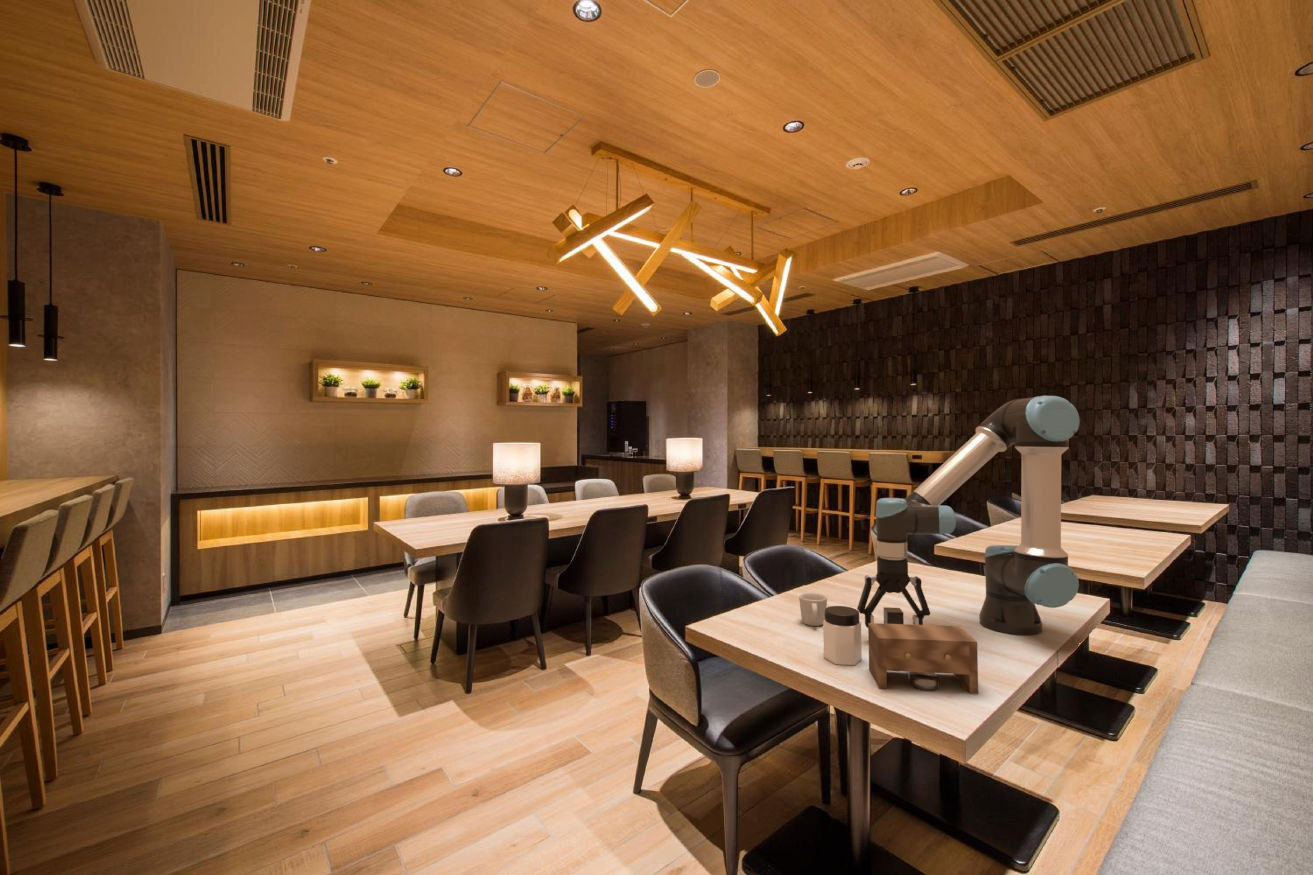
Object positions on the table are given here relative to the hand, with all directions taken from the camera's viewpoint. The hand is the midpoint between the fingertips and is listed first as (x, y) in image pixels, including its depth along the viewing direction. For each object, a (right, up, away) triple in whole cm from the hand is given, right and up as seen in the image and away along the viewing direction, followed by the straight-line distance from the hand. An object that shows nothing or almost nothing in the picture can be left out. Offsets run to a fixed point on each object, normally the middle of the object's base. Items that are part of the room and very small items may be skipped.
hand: (893, 640), depth 147 cm
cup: (-17, -1, +16) cm, 23 cm away
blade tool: (-1, -1, -7) cm, 8 cm away
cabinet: (-4, -1, -23) cm, 23 cm away
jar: (-17, -1, -9) cm, 19 cm away
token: (-4, -1, -25) cm, 25 cm away
